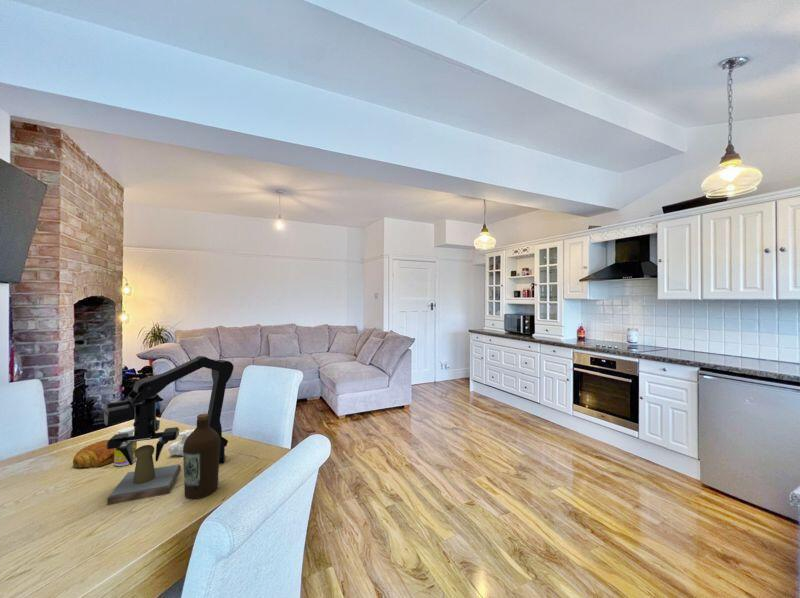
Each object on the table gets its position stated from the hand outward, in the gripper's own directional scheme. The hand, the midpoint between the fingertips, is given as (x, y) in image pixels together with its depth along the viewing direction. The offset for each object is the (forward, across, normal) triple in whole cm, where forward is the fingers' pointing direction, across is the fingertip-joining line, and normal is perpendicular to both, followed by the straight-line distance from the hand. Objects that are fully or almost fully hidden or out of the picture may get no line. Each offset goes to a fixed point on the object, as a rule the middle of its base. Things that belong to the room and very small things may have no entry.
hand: (144, 462), depth 110 cm
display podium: (+8, -1, 0) cm, 8 cm away
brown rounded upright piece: (+6, 0, 0) cm, 6 cm away
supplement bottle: (+8, +12, -23) cm, 27 cm away
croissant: (+8, +22, -29) cm, 37 cm away
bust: (+8, -8, -23) cm, 26 cm away
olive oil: (+8, -18, +10) cm, 23 cm away
